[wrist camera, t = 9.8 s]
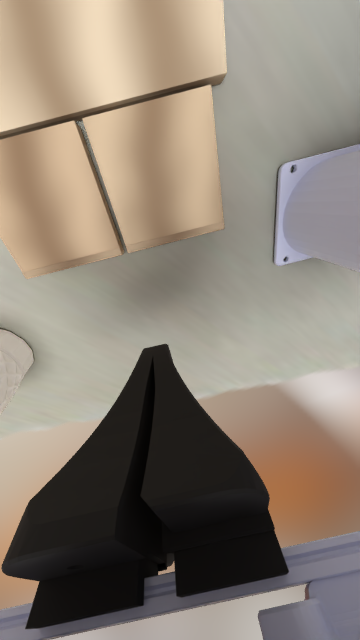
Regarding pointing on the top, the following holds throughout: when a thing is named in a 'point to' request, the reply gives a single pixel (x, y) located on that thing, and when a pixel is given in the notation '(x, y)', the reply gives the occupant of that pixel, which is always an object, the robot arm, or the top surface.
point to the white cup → (12, 365)
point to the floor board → (102, 56)
